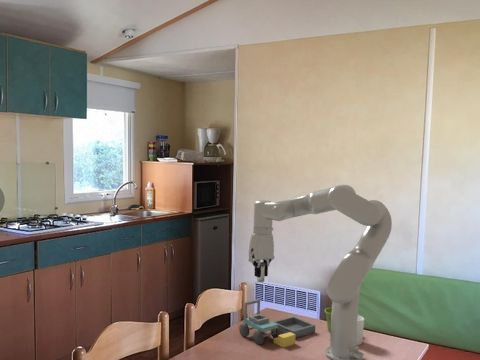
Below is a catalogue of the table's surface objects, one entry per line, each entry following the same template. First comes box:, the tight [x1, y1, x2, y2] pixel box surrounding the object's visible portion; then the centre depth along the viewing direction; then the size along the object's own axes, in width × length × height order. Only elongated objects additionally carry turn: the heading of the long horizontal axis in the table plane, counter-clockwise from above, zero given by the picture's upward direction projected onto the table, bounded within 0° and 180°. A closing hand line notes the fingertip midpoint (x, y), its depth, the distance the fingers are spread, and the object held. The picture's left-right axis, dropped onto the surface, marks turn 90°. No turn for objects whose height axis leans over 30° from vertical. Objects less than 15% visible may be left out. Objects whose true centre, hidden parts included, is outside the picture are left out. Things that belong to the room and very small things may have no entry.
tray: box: [272, 315, 316, 339], centre depth 191 cm, size 13×13×3 cm
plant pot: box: [324, 307, 332, 333], centre depth 192 cm, size 9×9×9 cm
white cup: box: [356, 314, 365, 346], centre depth 181 cm, size 8×8×10 cm
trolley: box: [238, 299, 282, 346], centre depth 182 cm, size 14×10×14 cm
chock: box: [273, 332, 296, 348], centre depth 177 cm, size 6×6×4 cm
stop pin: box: [256, 261, 266, 283], centre depth 182 cm, size 4×4×8 cm
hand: (261, 275), depth 182 cm, fingers closed on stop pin, 3 cm apart
